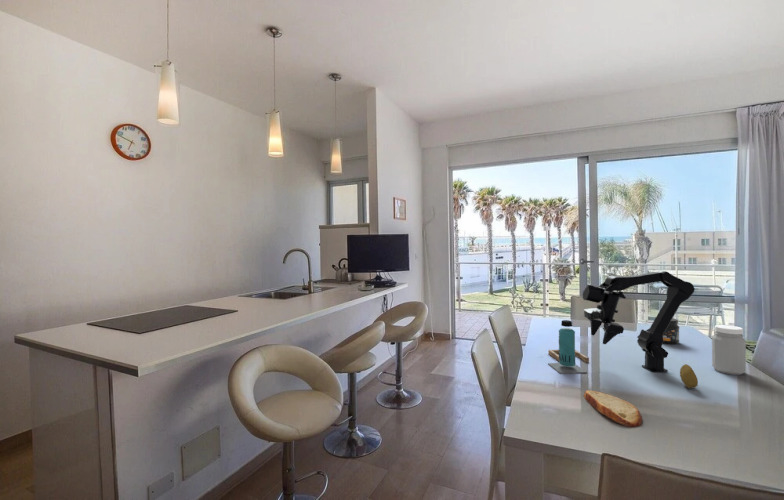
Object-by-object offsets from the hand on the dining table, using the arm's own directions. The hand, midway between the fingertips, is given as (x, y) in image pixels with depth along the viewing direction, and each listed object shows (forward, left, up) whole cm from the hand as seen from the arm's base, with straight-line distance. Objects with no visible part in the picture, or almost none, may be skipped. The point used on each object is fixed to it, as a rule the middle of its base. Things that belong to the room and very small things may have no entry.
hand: (598, 339), depth 150 cm
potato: (-23, -19, -12) cm, 32 cm away
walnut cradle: (+11, +8, -11) cm, 18 cm away
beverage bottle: (-2, +14, -11) cm, 18 cm away
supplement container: (+32, -54, -12) cm, 64 cm away
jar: (-9, -47, -12) cm, 50 cm away
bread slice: (-38, +19, -12) cm, 44 cm away
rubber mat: (-2, +15, -11) cm, 19 cm away
